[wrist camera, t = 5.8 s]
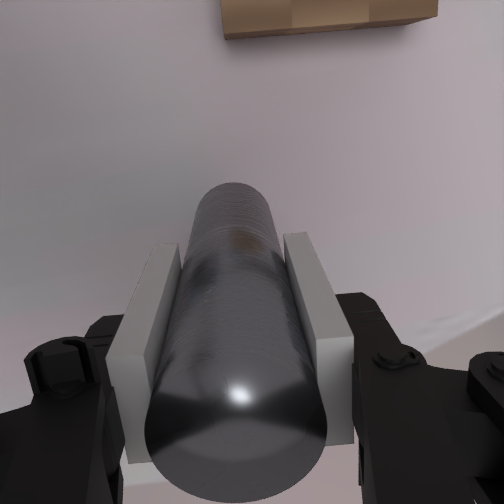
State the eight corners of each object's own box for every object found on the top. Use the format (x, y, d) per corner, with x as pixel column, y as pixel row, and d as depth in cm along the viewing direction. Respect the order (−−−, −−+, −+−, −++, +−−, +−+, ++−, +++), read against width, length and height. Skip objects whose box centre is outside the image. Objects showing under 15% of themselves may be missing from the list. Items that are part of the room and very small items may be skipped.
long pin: (191, 186, 22) (129, 365, 9) (268, 179, 22) (325, 347, 9) (200, 257, 23) (158, 510, 10) (273, 251, 23) (329, 495, 10)
